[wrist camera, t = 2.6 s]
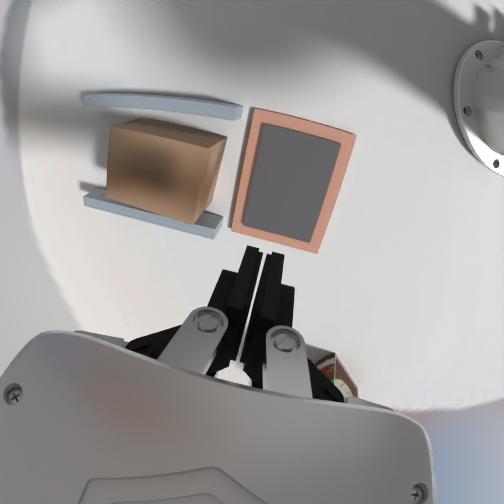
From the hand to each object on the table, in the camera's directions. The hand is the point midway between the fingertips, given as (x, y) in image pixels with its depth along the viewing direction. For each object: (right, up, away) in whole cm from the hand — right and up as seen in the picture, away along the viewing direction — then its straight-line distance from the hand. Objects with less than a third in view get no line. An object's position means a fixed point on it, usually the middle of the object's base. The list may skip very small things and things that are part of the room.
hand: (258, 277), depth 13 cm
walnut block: (-7, +9, +11) cm, 16 cm away
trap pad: (+3, +7, +10) cm, 12 cm away
